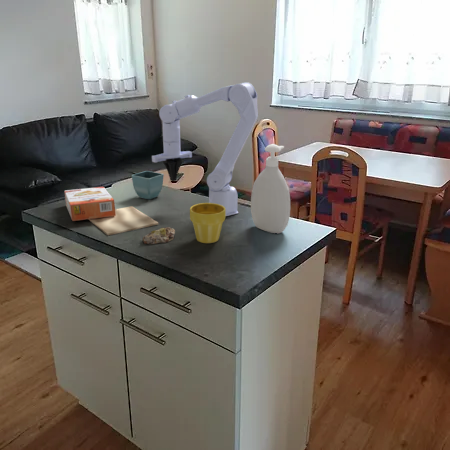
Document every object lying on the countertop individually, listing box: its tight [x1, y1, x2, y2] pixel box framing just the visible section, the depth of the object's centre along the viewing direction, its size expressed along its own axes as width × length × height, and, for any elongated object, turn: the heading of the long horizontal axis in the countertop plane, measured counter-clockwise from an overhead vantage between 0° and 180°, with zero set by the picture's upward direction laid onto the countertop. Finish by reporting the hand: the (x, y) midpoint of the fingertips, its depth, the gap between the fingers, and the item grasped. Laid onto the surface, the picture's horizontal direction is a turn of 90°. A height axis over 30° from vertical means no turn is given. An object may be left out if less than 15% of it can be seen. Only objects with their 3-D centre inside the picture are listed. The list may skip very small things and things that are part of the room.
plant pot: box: [189, 202, 226, 244], centre depth 134 cm, size 10×10×10 cm
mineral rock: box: [142, 226, 176, 245], centre depth 135 cm, size 11×4×8 cm
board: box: [87, 205, 159, 236], centre depth 150 cm, size 17×20×1 cm
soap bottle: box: [250, 143, 291, 234], centre depth 139 cm, size 14×8×27 cm, turn 47°
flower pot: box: [131, 170, 165, 200], centre depth 172 cm, size 9×9×9 cm
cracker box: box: [64, 186, 116, 222], centre depth 156 cm, size 14×6×21 cm
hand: (173, 180), depth 158 cm, fingers closed
